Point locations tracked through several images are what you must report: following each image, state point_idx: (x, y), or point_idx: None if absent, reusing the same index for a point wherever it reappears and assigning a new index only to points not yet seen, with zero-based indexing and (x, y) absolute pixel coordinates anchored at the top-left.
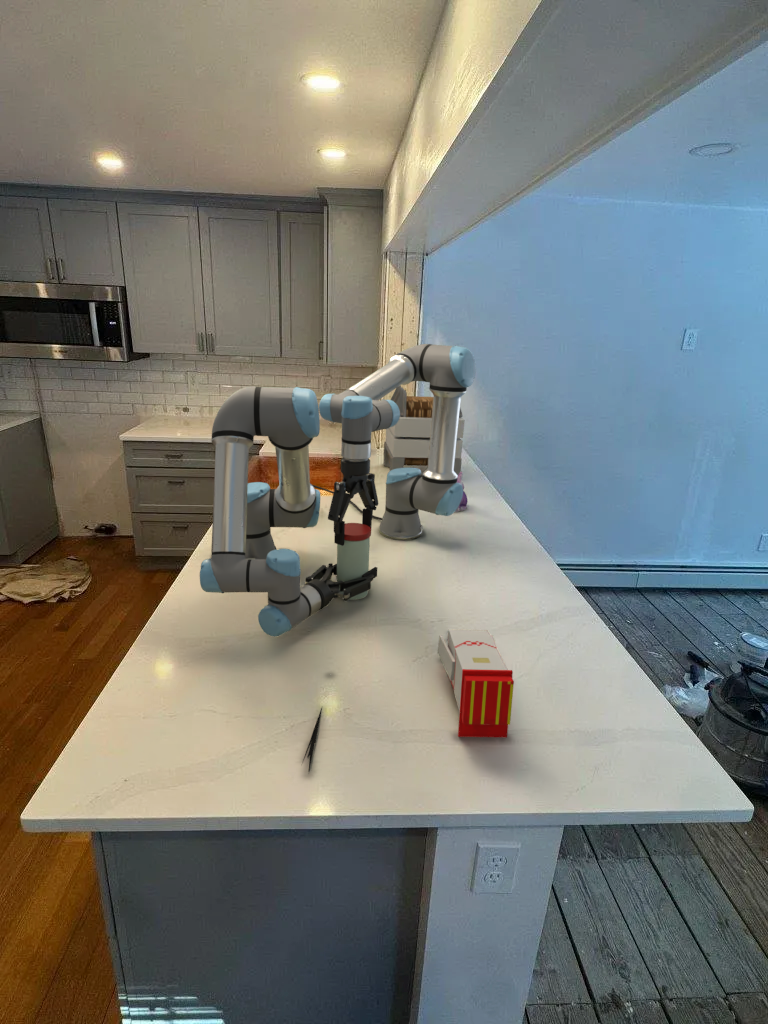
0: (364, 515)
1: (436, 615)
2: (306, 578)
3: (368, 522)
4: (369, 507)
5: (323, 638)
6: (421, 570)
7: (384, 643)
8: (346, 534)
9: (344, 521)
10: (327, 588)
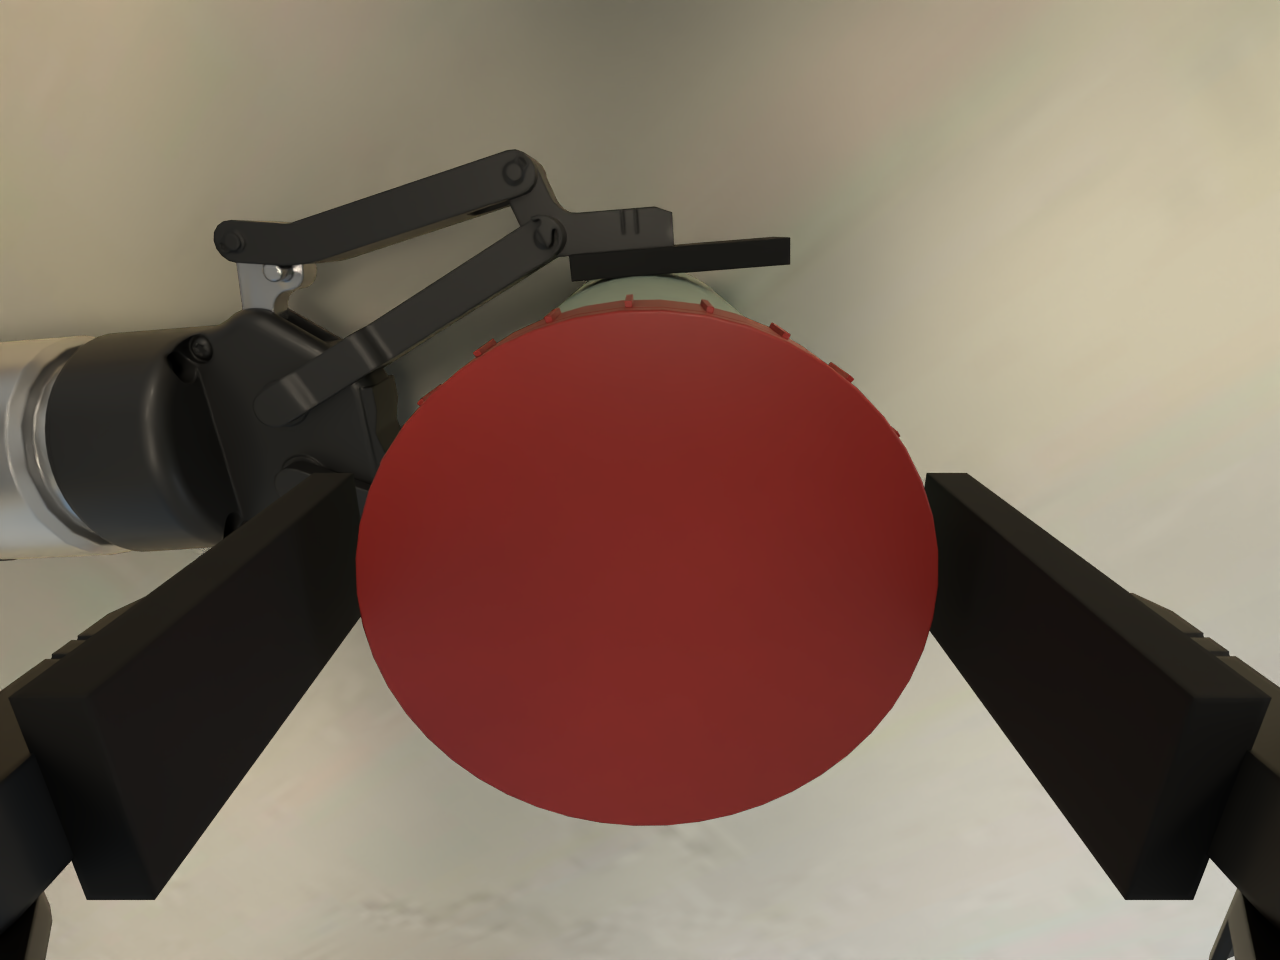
0: (1071, 659)
1: (730, 818)
2: (220, 241)
3: (987, 673)
4: (1273, 898)
5: (172, 573)
6: (1188, 523)
7: (371, 780)
8: (383, 664)
9: (152, 894)
10: (193, 544)
